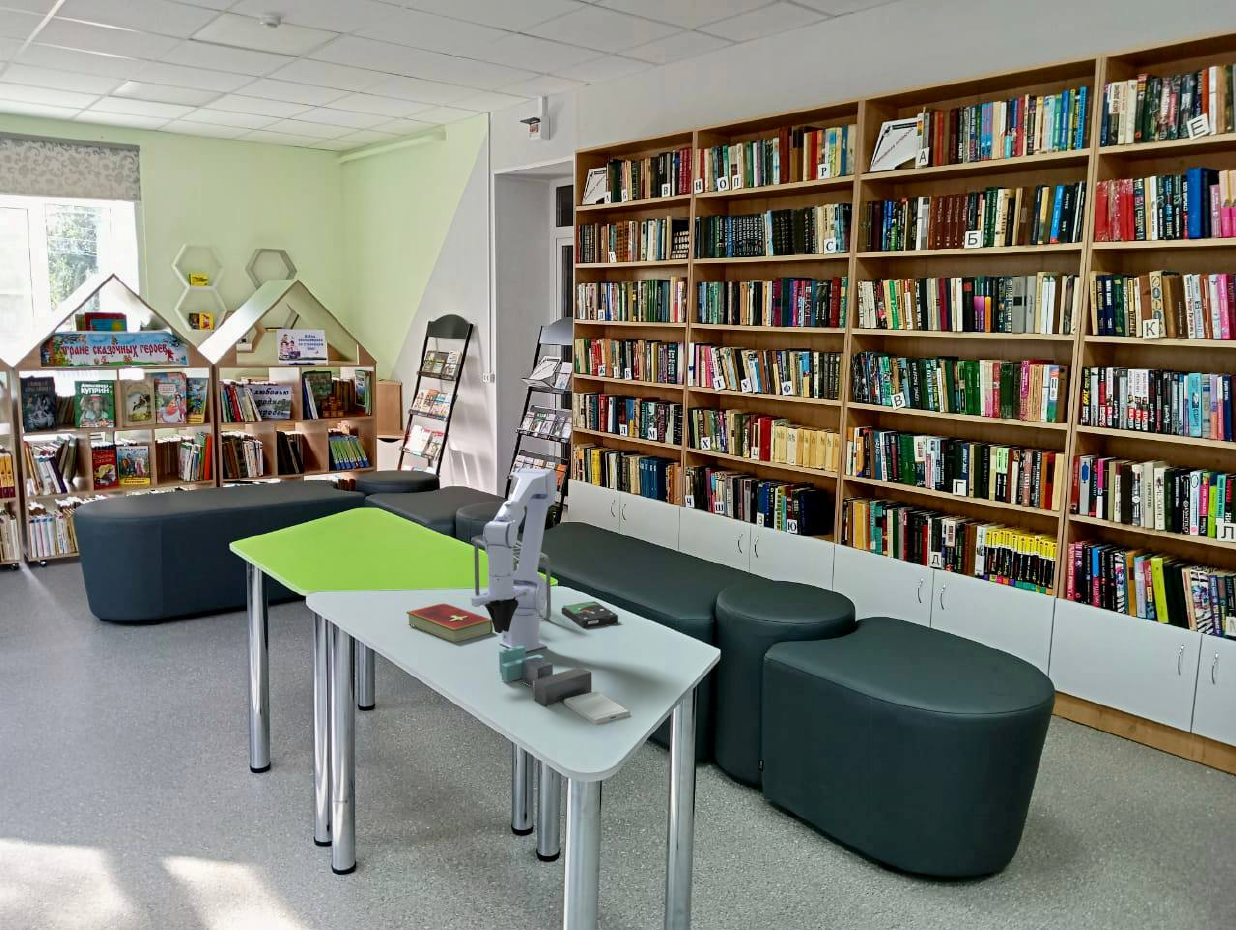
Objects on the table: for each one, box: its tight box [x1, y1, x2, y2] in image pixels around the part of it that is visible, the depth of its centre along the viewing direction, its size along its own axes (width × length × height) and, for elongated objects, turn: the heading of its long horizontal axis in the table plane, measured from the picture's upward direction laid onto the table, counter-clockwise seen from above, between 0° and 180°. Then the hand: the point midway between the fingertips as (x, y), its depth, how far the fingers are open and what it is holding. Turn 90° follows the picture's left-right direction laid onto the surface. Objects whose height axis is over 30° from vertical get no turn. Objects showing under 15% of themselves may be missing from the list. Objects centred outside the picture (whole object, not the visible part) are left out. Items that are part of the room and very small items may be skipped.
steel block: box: [521, 657, 554, 688], centre depth 212 cm, size 6×4×5 cm, turn 40°
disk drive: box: [561, 601, 619, 629], centre depth 260 cm, size 10×3×15 cm
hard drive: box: [563, 690, 631, 725], centre depth 198 cm, size 2×8×12 cm
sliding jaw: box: [498, 646, 545, 683], centre depth 217 cm, size 6×10×5 cm, turn 130°
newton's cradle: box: [473, 539, 552, 621], centre depth 266 cm, size 30×10×18 cm, turn 28°
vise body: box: [532, 666, 593, 707], centre depth 205 cm, size 6×12×4 cm, turn 130°
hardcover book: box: [406, 602, 494, 643], centre depth 251 cm, size 12×21×4 cm, turn 45°
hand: (501, 631), depth 222 cm, fingers closed
